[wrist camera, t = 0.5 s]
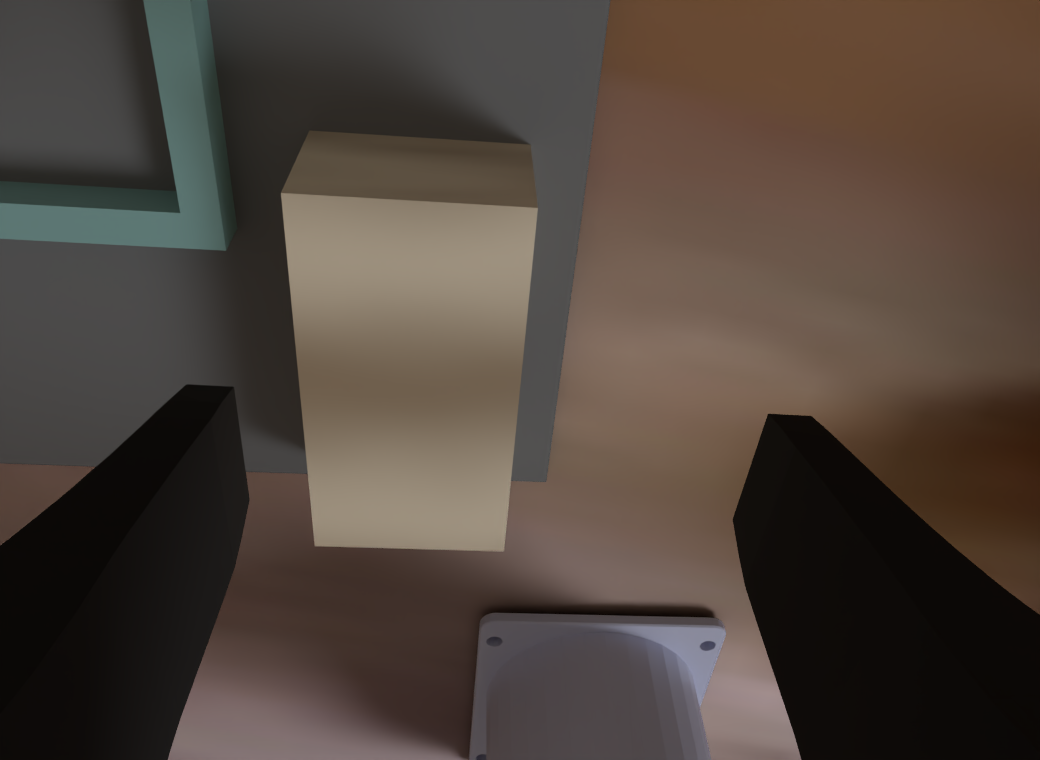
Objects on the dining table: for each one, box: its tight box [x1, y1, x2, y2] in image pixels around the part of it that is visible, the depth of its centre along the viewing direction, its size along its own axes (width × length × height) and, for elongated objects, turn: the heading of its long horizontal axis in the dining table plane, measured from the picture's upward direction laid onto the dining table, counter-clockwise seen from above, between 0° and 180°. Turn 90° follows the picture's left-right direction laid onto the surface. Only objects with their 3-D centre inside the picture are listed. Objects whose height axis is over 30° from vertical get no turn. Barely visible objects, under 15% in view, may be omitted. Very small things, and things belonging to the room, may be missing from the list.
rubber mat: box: [0, 0, 610, 482], centre depth 17 cm, size 18×20×1 cm
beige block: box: [281, 131, 538, 551], centre depth 19 cm, size 9×4×3 cm, turn 175°
